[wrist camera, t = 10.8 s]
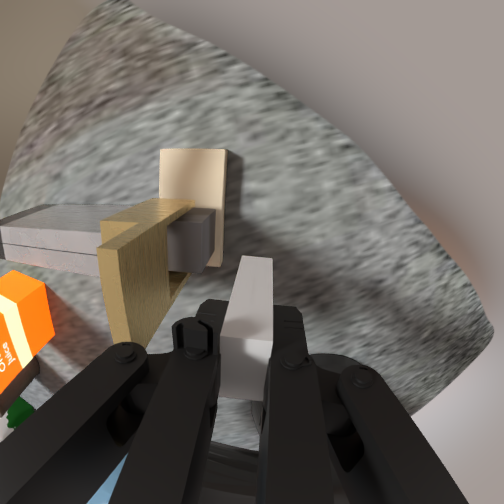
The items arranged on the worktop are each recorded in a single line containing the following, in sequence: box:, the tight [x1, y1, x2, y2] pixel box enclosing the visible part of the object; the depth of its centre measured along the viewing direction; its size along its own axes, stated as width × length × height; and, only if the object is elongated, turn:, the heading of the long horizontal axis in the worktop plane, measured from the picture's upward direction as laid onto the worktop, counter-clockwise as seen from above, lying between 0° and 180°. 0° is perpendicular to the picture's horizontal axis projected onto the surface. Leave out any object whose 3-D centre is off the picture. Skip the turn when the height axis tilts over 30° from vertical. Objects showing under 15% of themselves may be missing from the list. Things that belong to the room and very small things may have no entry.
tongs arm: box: [0, 204, 135, 255], centre depth 20 cm, size 16×2×9 cm, turn 86°
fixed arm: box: [0, 243, 100, 277], centre depth 21 cm, size 16×2×9 cm, turn 86°
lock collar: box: [96, 198, 195, 349], centre depth 16 cm, size 4×6×12 cm, turn 176°
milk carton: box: [0, 396, 34, 442], centre depth 33 cm, size 9×9×20 cm
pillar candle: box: [0, 356, 40, 418], centre depth 28 cm, size 10×10×15 cm
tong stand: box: [159, 149, 228, 274], centre depth 21 cm, size 6×10×6 cm, turn 176°
